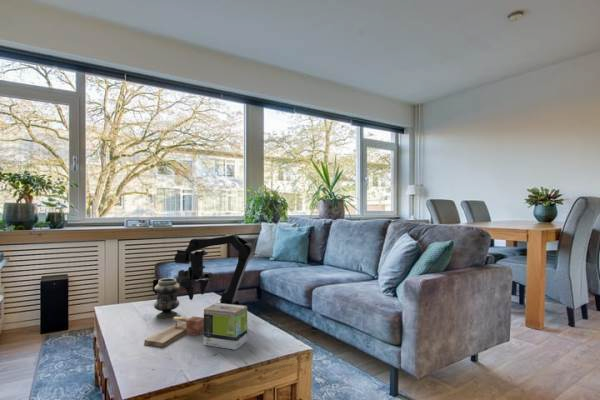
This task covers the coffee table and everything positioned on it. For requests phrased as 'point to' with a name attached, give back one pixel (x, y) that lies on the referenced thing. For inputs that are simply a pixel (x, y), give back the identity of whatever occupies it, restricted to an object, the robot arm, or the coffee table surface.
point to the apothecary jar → (166, 297)
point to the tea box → (225, 325)
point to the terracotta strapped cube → (192, 324)
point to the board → (167, 335)
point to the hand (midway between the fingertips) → (196, 297)
